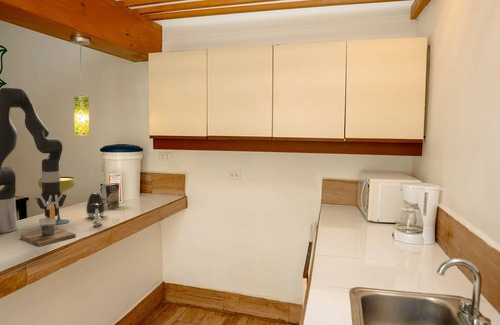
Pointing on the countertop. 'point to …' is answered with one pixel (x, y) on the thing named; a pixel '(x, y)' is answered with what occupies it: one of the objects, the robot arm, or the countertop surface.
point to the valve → (97, 215)
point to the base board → (47, 236)
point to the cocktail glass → (64, 185)
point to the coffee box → (110, 196)
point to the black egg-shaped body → (92, 199)
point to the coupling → (48, 221)
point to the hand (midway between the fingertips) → (51, 216)
